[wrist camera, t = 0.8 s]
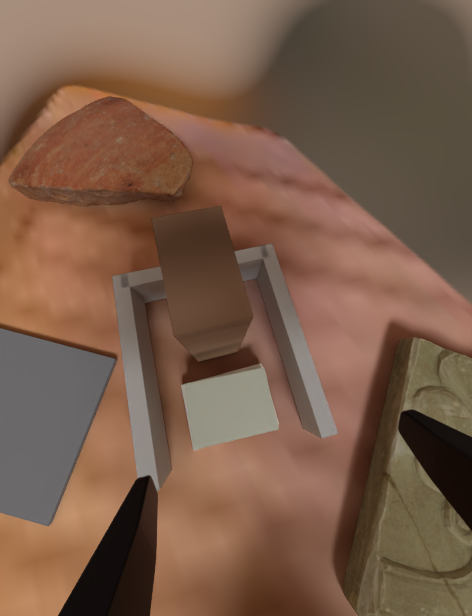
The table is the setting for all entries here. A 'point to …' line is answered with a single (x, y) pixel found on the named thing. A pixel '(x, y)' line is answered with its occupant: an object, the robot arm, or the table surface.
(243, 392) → the offcut
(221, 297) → the brown rectangular block
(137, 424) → the rack
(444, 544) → the decorative tile
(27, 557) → the table surface
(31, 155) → the ceramic shard
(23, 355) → the mat
